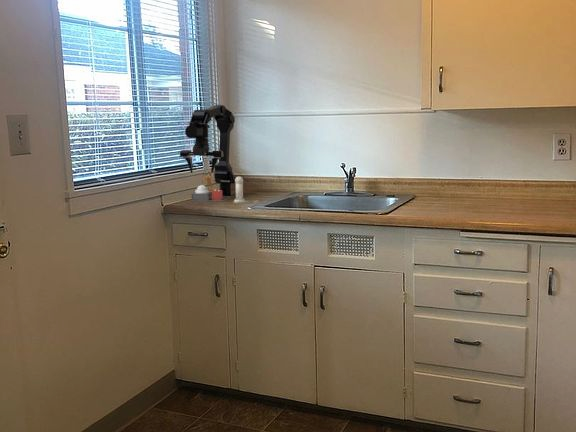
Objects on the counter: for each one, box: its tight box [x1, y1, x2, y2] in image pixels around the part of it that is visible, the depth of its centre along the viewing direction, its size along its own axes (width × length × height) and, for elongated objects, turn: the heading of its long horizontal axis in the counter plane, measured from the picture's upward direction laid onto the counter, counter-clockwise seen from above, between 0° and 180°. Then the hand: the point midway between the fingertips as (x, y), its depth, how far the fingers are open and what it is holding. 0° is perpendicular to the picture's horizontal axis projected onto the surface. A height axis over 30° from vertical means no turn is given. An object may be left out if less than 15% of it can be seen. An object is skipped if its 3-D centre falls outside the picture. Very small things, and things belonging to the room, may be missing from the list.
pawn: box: [233, 175, 246, 204], centre depth 281 cm, size 5×5×11 cm
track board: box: [233, 199, 267, 204], centre depth 284 cm, size 16×6×1 cm, turn 116°
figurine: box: [201, 173, 218, 192], centre depth 299 cm, size 8×6×12 cm
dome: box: [194, 184, 210, 194], centre depth 289 cm, size 6×6×5 cm
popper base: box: [190, 189, 229, 205], centre depth 289 cm, size 9×15×6 cm, turn 86°
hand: (201, 173), depth 287 cm, fingers open, 9 cm apart
